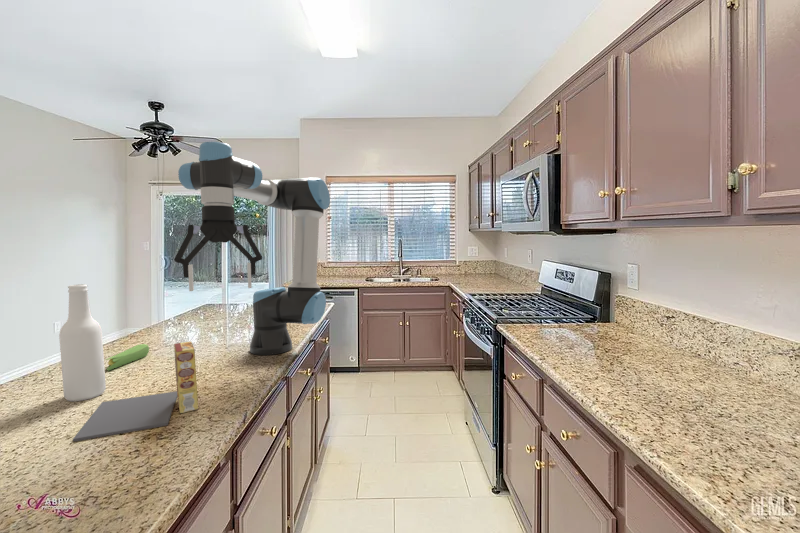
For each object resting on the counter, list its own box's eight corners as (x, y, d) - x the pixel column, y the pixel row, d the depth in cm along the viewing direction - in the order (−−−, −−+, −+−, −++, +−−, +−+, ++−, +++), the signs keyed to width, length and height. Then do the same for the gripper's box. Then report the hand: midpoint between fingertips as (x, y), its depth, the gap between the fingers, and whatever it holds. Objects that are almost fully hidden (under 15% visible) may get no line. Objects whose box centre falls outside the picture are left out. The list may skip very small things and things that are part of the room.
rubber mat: (178, 393, 105) (178, 390, 105) (167, 425, 87) (167, 422, 87) (102, 404, 99) (102, 401, 99) (72, 441, 80) (72, 439, 80)
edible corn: (154, 343, 141) (143, 339, 141) (109, 362, 121) (95, 358, 122) (152, 356, 142) (140, 352, 142) (106, 377, 122) (92, 373, 122)
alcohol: (71, 404, 98) (63, 287, 96) (58, 397, 103) (50, 285, 101) (111, 393, 106) (104, 284, 104) (97, 386, 111) (90, 282, 108)
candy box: (198, 409, 95) (195, 348, 94) (179, 414, 93) (175, 351, 91) (194, 397, 102) (192, 340, 101) (176, 401, 100) (173, 343, 99)
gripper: (268, 208, 106) (271, 284, 108) (163, 205, 97) (167, 290, 98) (271, 205, 99) (273, 287, 101) (158, 203, 90) (162, 293, 91)
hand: (221, 289), depth 99 cm, fingers open, 13 cm apart
